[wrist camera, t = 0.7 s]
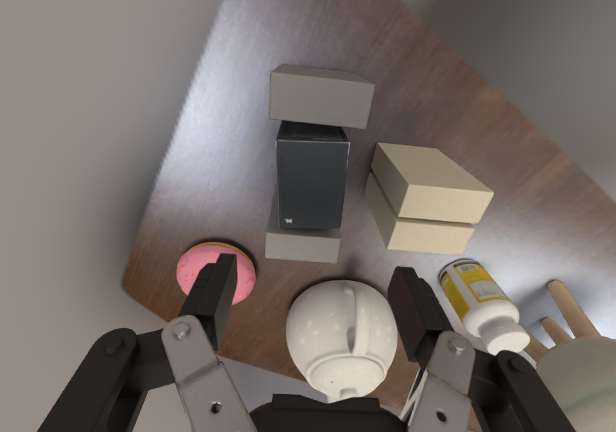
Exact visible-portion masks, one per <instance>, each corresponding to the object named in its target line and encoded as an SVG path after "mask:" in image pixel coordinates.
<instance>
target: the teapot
mask: <svg viewBox="0 0 616 432" xmlns="http://www.w3.org/2000/svg"><path fill="white" fill-rule="evenodd" d="M286 338H287V344H288V349H289V352H290V355H291V357H292V359H293V361H294V363H295V365H296V366H297V368H298V369H299V371H300V372H301V373H302V374H303V375H304V377H305V378H306V379H307V381H308V383H309V384H310V385H311V386H312V387H313V388H315V389H317V390H318V391H321V392H323V393H324V394H326V395H327V399H328V403H332V402H336V401H340V400H344V399H347V398H351V397H362V396H365V395H367V394H369V393H370V392H372V391H373V390H374V389H375V388H376V387H377V386H378V385H379V384H380V383H381V382H382V381H383V380H384V379H385V377H386V375H387V370H388V369H389V367H390V365H391V363H392V361H393V358H394V355H395V351H396V347H397V327H396V322H395V318H394V315H393V312H392V310H391V308H390V306H389V304H388V302H387V301H386V299H385V298H384V297H383V296H382V295H381V294H380V293H379V292H378V291H377V290H375V289H374V288H372V287H370V286H368V285H366V284H364V283H360V282H356V281H351V280H333V281H327V282H323V283H319V284H317V285H314V286H312V287H310V288H308V289H307V290H305V291H304V292H303V293H302V294H300V295H299V296H298V297H297V299H296V300H295V301H294V303H293V304H292V306H291V308H290V311H289V314H288V318H287V324H286Z"/></svg>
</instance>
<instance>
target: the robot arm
mask: <svg viewBox="0 0 616 432" xmlns="http://www.w3.org/2000/svg"><path fill="white" fill-rule="evenodd" d="M237 281H238V272H237V255H236V254H230V253H220V254H219V257H218V259H217V262H216V263H207V264H206V265H205V266H204V267H203V268H202V269H200V271H199V273H198V275H197V277H196V280H195V282H194V284H193V286H192V288H191V290H190V292H189V294H188V296H187V298H186V300H185V303H184V305H183V307H182V309H181V311H180V313H179V315H178V317H177V318H175V319H173V320H171V321H170V322H169V323H168V324H167V325H166V326H165V327H164V328H163V329H160V330H157V331H153V332H149V333H144V334H140V335H136V333H135V332H134V331H133V330H131V329H128V328H119V329H115V330H112V331H110V332H108V333H106V334H104V335H103V336H102V337H100V338H99V339H98V340H97V341H96V342H95V343H94V345H93V346H92V347H91V349H90V350H89V352H88V354H87V355H86V357H85V358H84V360H83V361H82V363H81V364H80V366H79V367H78V369H77V371H76V372H75V374H74V375H73V377H72V378H71V380H70V381H69V383H68V385H67V386H66V388H65V390H64V391H63V392H62V394H61V395H60V397H59V398H58V400H57V402H56V403H55V405H54V406H53V408H52V409H51V411H50V412H49V414H48V416H47V417H46V419H45V420H44V422H43V423H42V425H41V426H40V428H39V429H38V431H37V432H132V431H133V428H134V426H135V423H136V421H137V418H138V415H139V413H140V411H141V408H142V406H143V403H144V401H145V398H146V396H147V393H148V391H149V390H151V389H155V388H158V387H161V386H165V385H169V384H172V383H175V384H176V387H177V390H178V393H179V396H180V399H181V402H182V405H183V408H184V411H185V414H186V417H187V420H188V423H189V426H190V429H191V432H467V426H468V421H469V415H470V410H471V405H472V407H473V409H474V412H475V414H476V417H477V419H478V421H479V424H480V426H481V429H482V431H483V432H576V430H575V429H574V427H573V426H572V424H571V423H570V421H569V420H568V418H567V417H566V415H565V414H564V412H563V411H562V409H561V408H560V406H559V405H558V403H557V402H556V400H555V399H554V397H553V396H552V394H551V393H550V391H549V390H548V388H547V387H546V385H545V384H544V382H543V381H542V379H541V378H540V376H539V375H538V373H537V372H536V370H535V369H534V367H533V366H532V365H531V364H530V363H529V362H528V361H527V360H526V359H525V358H524V357H522V356H521V355H519V354H517V353H515V352H513V351H510V350H501V351H499V352H498V353H497V355H496V356H494V355H492V354H489V353H486V352H483V351H480V350H477V349H475V348H473V346H472V345H471V343H470V342H469V341H468V340H467V339H466V338H465V337H463V336H462V335H460V334H458V333H456V332H455V331H454V329H453V327H452V326H451V324H450V322H449V320H448V318H447V316H446V314H445V312H444V310H443V309H442V307H441V305H440V304H439V301H438V299H437V297H435V294H434V292H433V290H432V288H431V286H430V285H429V284H428V283H427V282H426V281H425V280H424V279H423V278H418V276H417V274H416V272H415V270H414V269H413V268H412V267H400V266H397V267H396V268H395V270H394V273H393V276H392V279H391V281H390V284H389V287H388V300H389V303H390V306H391V309H392V312H393V315H394V318H395V321H396V324H397V327H398V330H399V333H400V336H401V339H402V342H403V345H404V348H405V351H406V354H407V357H408V360H409V362H418V363H419V366H420V369H419V370H418V373H417V375H416V378H415V381H414V383H413V386H412V388H411V391H410V394H409V396H408V399H407V401H406V404H405V406H404V409H403V411H402V413H401V415H400V417H399V418H398V417H397V416H396V415H394V414H393V413H391V412H390V411H388V410H385V409H384V408H381V407H380V404H379V399H378V398H365V397H351V398H347V399H344V400H340V401H336V402H332V403H328V404H326V403H322V402H319V401H316V400H313V399H310V398H307V397H304V396H301V395H292V394H273V399H272V402H270V403H266V404H264V405H261V406H259V407H258V408H256V409H254V410H253V411H251V412H250V413H248V411H247V409H246V407H245V405H244V403H243V401H242V399H241V397H240V395H239V393H238V391H237V389H236V387H235V385H234V383H233V381H232V379H231V377H230V375H229V373H228V371H227V369H226V367H225V365H224V363H223V362H222V361H219V359H218V358H217V356H216V353H215V351H219V347H220V344H221V340H222V337H223V333H224V330H225V326H226V323H227V319H228V316H229V312H230V309H231V305H232V302H233V298H234V295H235V291H236V287H237ZM511 407H512V408H511ZM512 409H513V410H512ZM515 414H516V415H515ZM516 416H517V417H516ZM517 418H518V419H517ZM518 420H519V421H518ZM519 422H520V423H519ZM520 424H521V425H520ZM521 426H522V427H521ZM522 428H523V429H522Z"/></svg>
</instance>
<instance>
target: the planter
mask: <svg viewBox="0 0 616 432" xmlns="http://www.w3.org/2000/svg"><path fill="white" fill-rule="evenodd" d="M548 290H549V291H550V293H551V295H552V297H553V299H554V300H555V302H556V304H557V306H558V308H559V310H560V312H561V313H562V315H563V317H564V319H565V320H566V322H567V324H568V326H569V327H570V329H571V331H572V332H573V334H574V336H575V337H576V338H575V339H572V338H571V337H570V336H569V335H568V334H567V333H566V332H565V331H564V329H563V328H562V327H561V326H560V325H559V324H558V323H557V322H556V321H555V320H554V319H552V318H545V319H543V320H542V321H541V325H542V327H543V328H544V329H545V331H546V332H547V333H548V335H549V336H550V337H551V339H552V340H553V341H554V343H555V344H556V346H554V347H552V348H550V349H548V348H547V347H545V346H544V345H543V344H542V343H540V342H539V341H538V340H537V339H536V338H534V337H533V336H532V335H531V334H529V333H528V332H527V331H526V330H525V331H526V333H527V334H528V336H529V337H530V342H529V344H528V345H527V346H526V347H525V348H524V349H523V350H524V351H525V352H526V353H527V354H529V355H530V356H531V357H532V358H533V359H534V360H535V361H536V362H537V363H536V372H537V373H538V375H539V376H540V378H541V379H542V381H543V382H544V384H545V385H546V387H547V388H548V390H549V391H550V393H551V394H552V396H553V397H554V399H555V400H556V402H557V403H558V405H559V406H560V408H561V409H562V411H563V412H564V414H565V415H566V417H567V418H568V420H569V421H570V423H571V424H572V426H573V427H574V429H575V430H576V432H616V340H615V339H610V338H608V337H604V336H601V335H600V334H599V332H598V331H597V330H596V328H595V327H594V326H593V324H592V323H591V321H590V320H589V319H588V317H587V316H586V315H585V313H584V312H583V310H582V309H581V308H580V306H579V305H578V303H577V302H576V300H575V299H574V297H573V296H572V294H571V293H570V291H569V290H568V289H567V287H566V286H565V285H564V284H563V283H562V282H561V281H557V280H555V281H552V282H550V283H549V284H548Z"/></svg>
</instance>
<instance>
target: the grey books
mask: <svg viewBox="0 0 616 432" xmlns="http://www.w3.org/2000/svg"><path fill="white" fill-rule="evenodd" d="M374 88H375V84H374V83H372V82H370V81H368V80H366V79H364V78H362V77H360V76H358V75H356V74H354V73H353V72H345V71H337V70H329V69H321V68H313V67H305V66H296V65H288V64H281V65H280V66H279V67H277V68H276V69H274V70H273V71H271V74H270V107H269V118H270V119H276V120H285V121H294V122H303V123H313V124H322V125H331V126H340V127H349V128H358V129H366V125H367V121H368V116H369V111H370V107H371V102H372V98H373V93H374ZM278 220H279V218H278V186H276V188H275V192H274V197H273V202H272V206H271V211H270V216H269V221H268V225H267V230H266V242H265V258H273V259H286V260H299V261H312V262H326V263H337V258H338V254H339V249H340V244H341V240H342V239H341V234H340V229H339V228H338V229H308V228H280V227H279V225H278Z"/></svg>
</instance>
